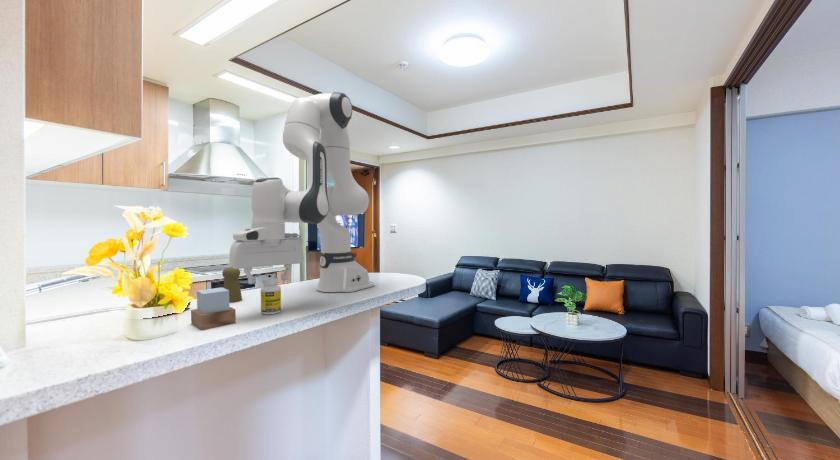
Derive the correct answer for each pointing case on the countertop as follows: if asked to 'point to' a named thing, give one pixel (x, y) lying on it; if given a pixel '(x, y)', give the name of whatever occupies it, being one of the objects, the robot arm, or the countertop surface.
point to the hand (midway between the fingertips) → (268, 281)
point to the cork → (232, 284)
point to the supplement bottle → (270, 296)
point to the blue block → (212, 300)
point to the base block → (212, 318)
